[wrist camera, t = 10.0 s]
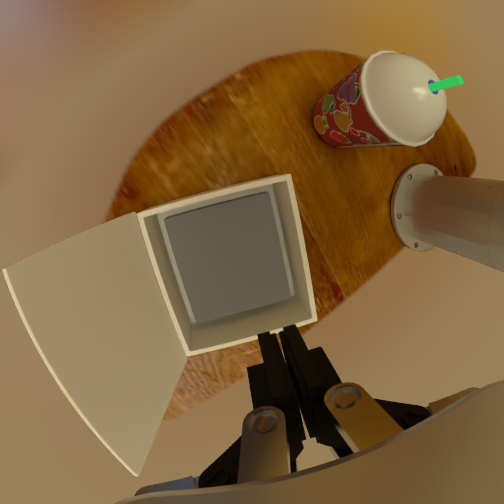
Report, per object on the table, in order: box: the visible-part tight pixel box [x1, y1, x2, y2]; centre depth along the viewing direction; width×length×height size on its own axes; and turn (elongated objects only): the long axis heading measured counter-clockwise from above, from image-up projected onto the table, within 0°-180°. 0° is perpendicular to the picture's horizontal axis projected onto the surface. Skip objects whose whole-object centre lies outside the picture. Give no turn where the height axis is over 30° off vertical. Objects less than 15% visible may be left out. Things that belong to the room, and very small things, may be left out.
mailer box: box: [137, 174, 317, 356], centre depth 29 cm, size 14×15×7 cm
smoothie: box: [313, 51, 463, 148], centre depth 21 cm, size 8×8×20 cm
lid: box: [3, 212, 188, 476], centre depth 18 cm, size 14×16×1 cm
